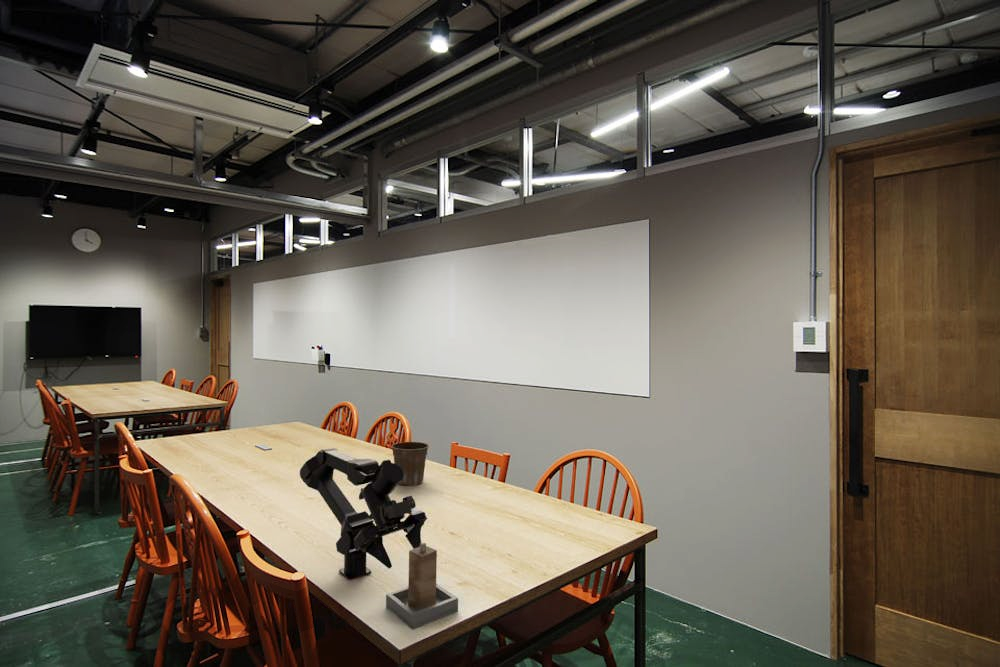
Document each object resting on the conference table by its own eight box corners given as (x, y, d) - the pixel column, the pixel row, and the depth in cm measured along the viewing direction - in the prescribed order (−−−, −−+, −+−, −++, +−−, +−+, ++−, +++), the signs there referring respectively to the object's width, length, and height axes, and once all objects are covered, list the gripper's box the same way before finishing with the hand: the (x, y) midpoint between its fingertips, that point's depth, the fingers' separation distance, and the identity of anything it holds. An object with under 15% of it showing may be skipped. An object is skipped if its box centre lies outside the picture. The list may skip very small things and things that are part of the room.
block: (408, 605, 118) (409, 544, 118) (423, 597, 121) (424, 538, 121) (420, 612, 115) (422, 549, 115) (435, 604, 118) (436, 543, 118)
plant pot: (435, 482, 224) (436, 445, 224) (406, 489, 212) (407, 450, 212) (412, 475, 235) (413, 440, 235) (383, 482, 223) (383, 445, 223)
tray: (385, 607, 119) (386, 594, 119) (429, 591, 126) (429, 579, 126) (412, 629, 109) (412, 615, 110) (457, 611, 117) (458, 598, 117)
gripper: (361, 495, 119) (389, 556, 111) (423, 479, 133) (451, 533, 125) (342, 520, 124) (367, 580, 116) (403, 502, 138) (429, 555, 130)
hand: (406, 561), depth 122 cm, fingers open, 9 cm apart
